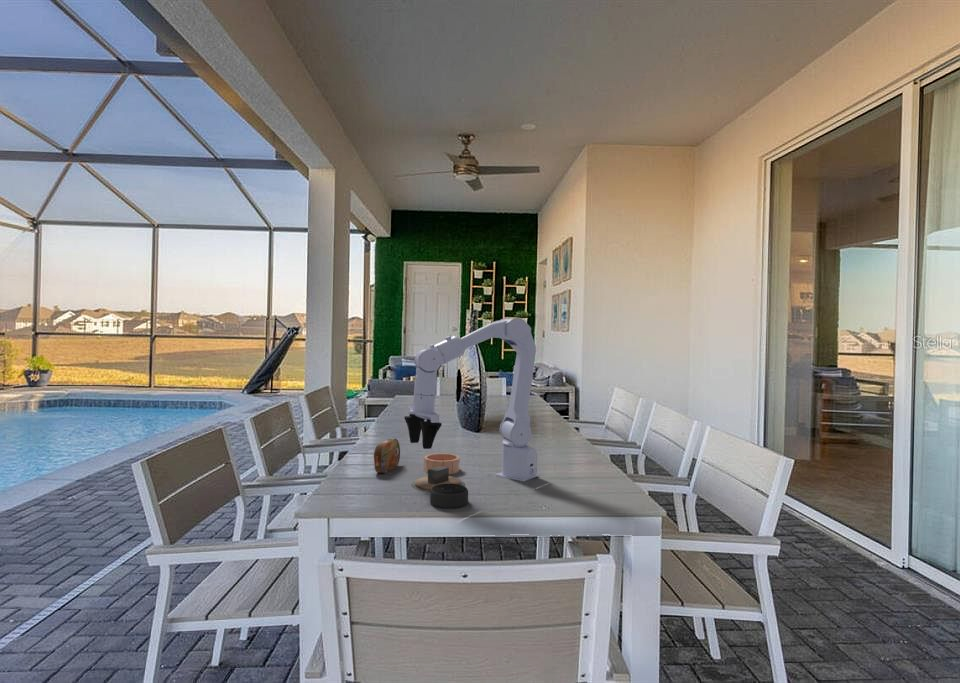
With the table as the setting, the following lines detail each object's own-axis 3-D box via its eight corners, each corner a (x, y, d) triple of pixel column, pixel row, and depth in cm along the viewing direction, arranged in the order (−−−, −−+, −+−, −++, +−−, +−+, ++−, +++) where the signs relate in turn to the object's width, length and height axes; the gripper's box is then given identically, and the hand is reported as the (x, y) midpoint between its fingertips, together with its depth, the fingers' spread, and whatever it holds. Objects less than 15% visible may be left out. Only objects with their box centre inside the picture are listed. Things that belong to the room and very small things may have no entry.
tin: (382, 477, 156) (382, 446, 156) (371, 476, 157) (372, 445, 157) (400, 464, 171) (401, 436, 171) (391, 463, 172) (391, 435, 171)
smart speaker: (427, 500, 137) (427, 483, 136) (463, 498, 139) (464, 481, 138) (432, 511, 128) (433, 494, 128) (471, 509, 130) (471, 492, 130)
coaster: (475, 484, 150) (475, 483, 150) (441, 496, 139) (441, 495, 139) (435, 475, 158) (435, 474, 158) (399, 486, 147) (399, 485, 147)
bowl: (466, 470, 164) (466, 456, 164) (443, 477, 156) (444, 463, 156) (439, 465, 170) (440, 451, 170) (417, 471, 162) (417, 457, 162)
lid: (470, 483, 150) (470, 467, 150) (440, 494, 140) (441, 477, 140) (435, 475, 157) (436, 460, 157) (405, 485, 147) (405, 469, 147)
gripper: (399, 390, 155) (395, 440, 155) (423, 397, 143) (419, 451, 143) (422, 391, 159) (418, 439, 159) (448, 398, 147) (443, 450, 147)
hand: (420, 445), depth 151 cm, fingers open, 7 cm apart
